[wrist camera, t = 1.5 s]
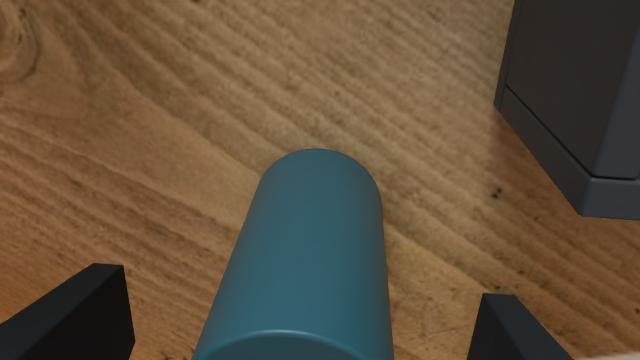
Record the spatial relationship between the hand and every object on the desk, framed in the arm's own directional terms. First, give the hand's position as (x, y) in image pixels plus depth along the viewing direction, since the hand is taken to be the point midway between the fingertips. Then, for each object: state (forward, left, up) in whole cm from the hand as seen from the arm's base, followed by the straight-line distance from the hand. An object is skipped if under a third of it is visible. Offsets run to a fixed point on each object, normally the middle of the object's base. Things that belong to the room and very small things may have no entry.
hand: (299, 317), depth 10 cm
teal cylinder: (0, 0, -5) cm, 5 cm away
